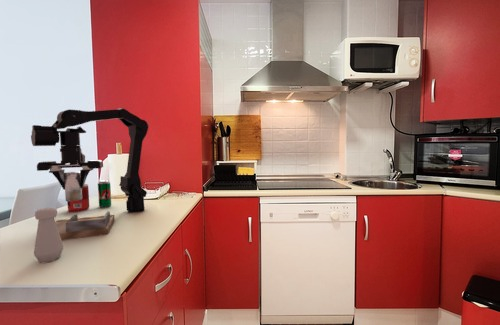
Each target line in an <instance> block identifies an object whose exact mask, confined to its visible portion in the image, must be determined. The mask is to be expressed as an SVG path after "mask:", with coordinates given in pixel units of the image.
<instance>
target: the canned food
mask: <svg viewBox="0 0 500 325" xmlns="http://www.w3.org/2000/svg"><path fill="white" fill-rule="evenodd" d="M66 202H67V210H68V211H69V212H70V213H76V212H83V211H87V210H90V194H89V184H87V183H85V184H84V187H83V188H82V200H78V201H66Z"/></svg>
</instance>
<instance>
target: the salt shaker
mask: <svg viewBox="0 0 500 325" xmlns="http://www.w3.org/2000/svg"><path fill="white" fill-rule="evenodd" d="M57 216H58V209H57V208H55V207H43V208H40V209H37V210H36V211H35V212H34V217H35V219H36V220H38V222H37V229H36V235H35V243H34V249H33V254H34V255H33V256H34V257H35V259H36V260H37V261H38V262H39V261H40V262H39V263H42V262H46V263H50V262H49V261H51V262H54V261H56V260H58V259H60V258H59V257H61V255H62V252H63V251H64V243H63V240H61V237H60V234H59V231H58V228H57V225H56V219H55V218H56V217H57ZM57 258H58V259H57ZM55 259H56V260H55ZM53 260H54V261H53Z"/></svg>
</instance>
